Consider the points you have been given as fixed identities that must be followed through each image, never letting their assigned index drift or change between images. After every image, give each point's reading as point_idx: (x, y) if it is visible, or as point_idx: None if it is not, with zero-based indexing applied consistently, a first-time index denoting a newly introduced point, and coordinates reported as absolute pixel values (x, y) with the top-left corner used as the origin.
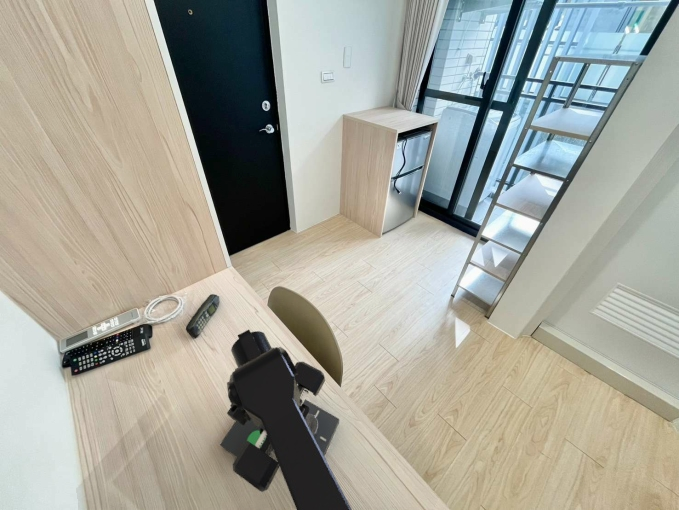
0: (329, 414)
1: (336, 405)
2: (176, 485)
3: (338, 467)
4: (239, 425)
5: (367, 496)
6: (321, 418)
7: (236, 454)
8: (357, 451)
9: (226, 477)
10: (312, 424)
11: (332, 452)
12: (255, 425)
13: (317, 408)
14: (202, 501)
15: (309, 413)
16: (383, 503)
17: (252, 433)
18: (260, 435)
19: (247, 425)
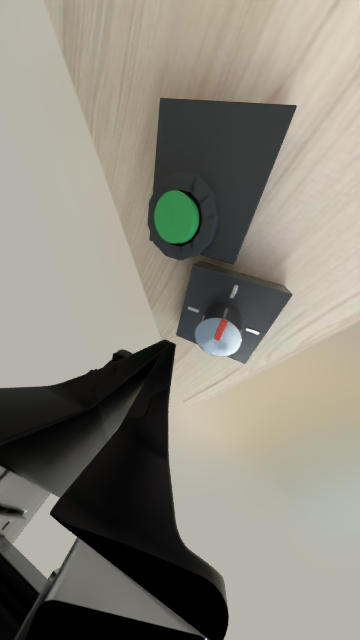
0: (252, 350)
1: (274, 346)
2: (86, 44)
3: (191, 346)
4: (212, 129)
5: (176, 369)
6: (243, 338)
7: (157, 176)
8: (211, 366)
9: (136, 178)
10: (219, 347)
11: None
12: (211, 192)
13: (263, 330)
14: (99, 152)
15: (252, 316)
16: (175, 379)
17: (184, 198)
18: (185, 226)
19: (215, 161)
